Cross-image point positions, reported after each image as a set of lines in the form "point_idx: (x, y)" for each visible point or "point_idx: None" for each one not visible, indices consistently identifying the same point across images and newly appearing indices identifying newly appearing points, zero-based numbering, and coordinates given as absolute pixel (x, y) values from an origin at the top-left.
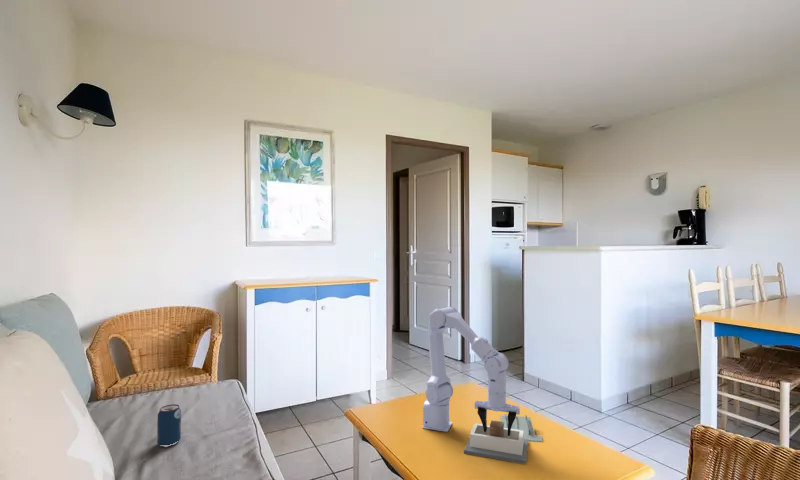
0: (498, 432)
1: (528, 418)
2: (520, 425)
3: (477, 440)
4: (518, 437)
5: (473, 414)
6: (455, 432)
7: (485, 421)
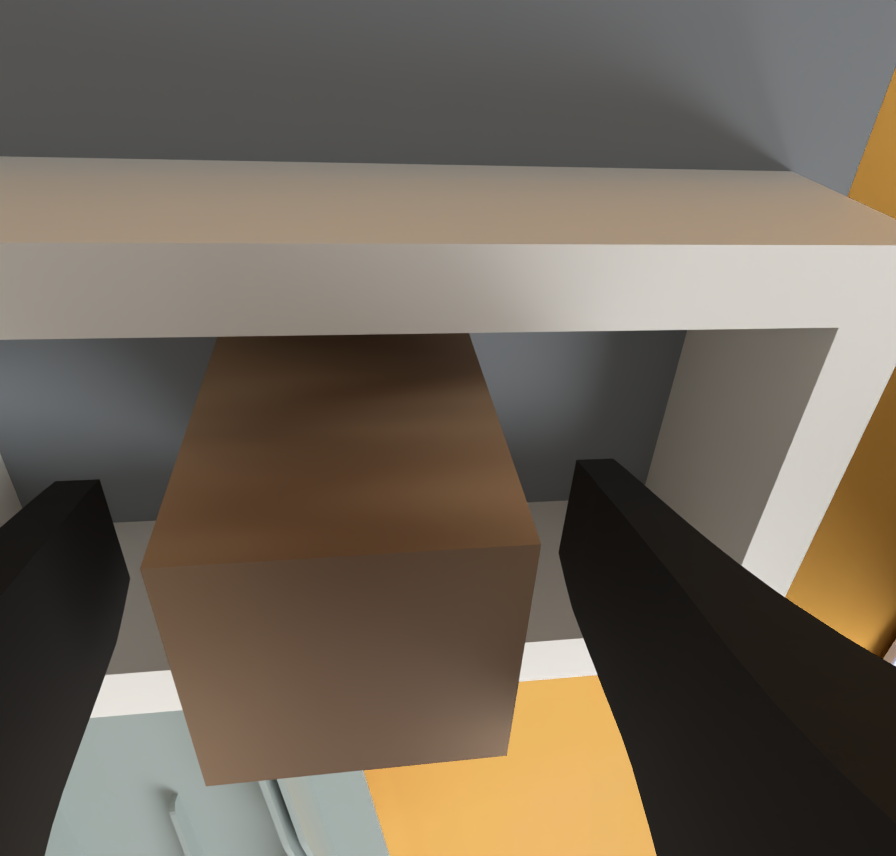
0: (285, 442)
1: None
2: (152, 843)
3: (724, 209)
4: None
5: (643, 842)
6: (874, 537)
7: (667, 655)
